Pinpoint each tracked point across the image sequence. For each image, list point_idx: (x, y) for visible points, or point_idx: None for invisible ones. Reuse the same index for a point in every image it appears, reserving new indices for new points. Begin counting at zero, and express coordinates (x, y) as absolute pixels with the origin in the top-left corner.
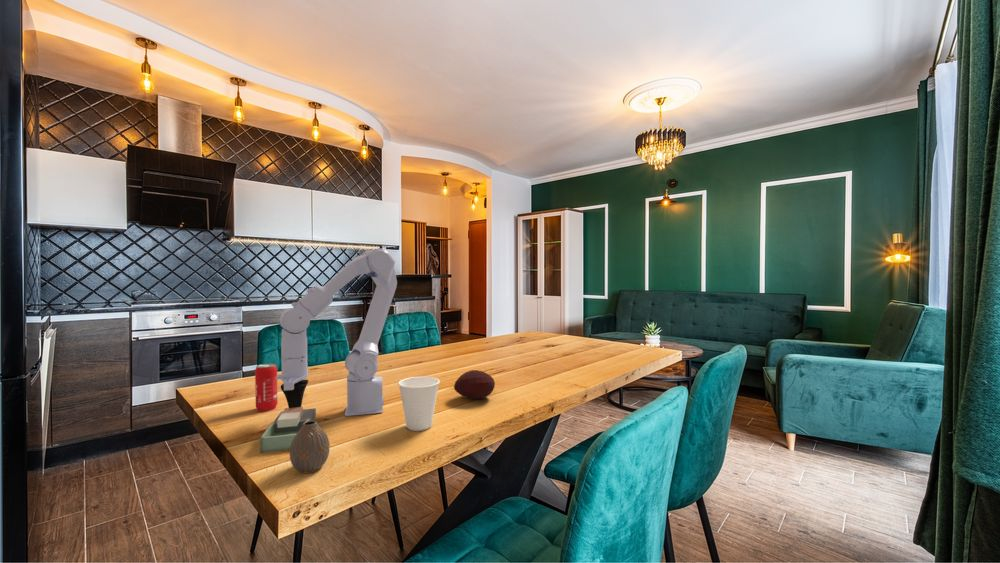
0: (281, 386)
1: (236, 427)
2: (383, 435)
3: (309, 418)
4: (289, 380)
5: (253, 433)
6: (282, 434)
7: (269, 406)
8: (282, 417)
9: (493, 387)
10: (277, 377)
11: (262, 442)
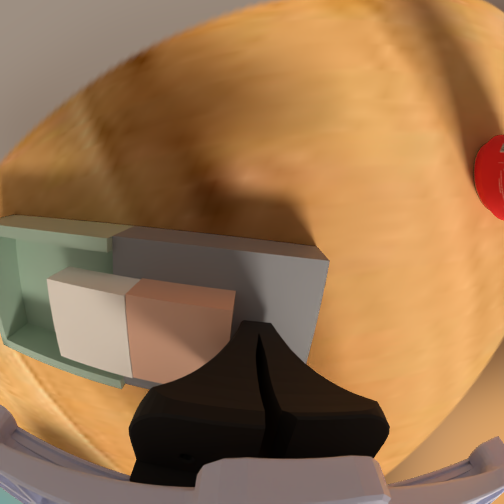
0: (136, 416)
1: (313, 56)
2: (94, 461)
3: (150, 385)
4: (4, 484)
5: (190, 138)
6: (107, 271)
7: (484, 188)
8: (71, 300)
9: None
10: (194, 498)
11: None
